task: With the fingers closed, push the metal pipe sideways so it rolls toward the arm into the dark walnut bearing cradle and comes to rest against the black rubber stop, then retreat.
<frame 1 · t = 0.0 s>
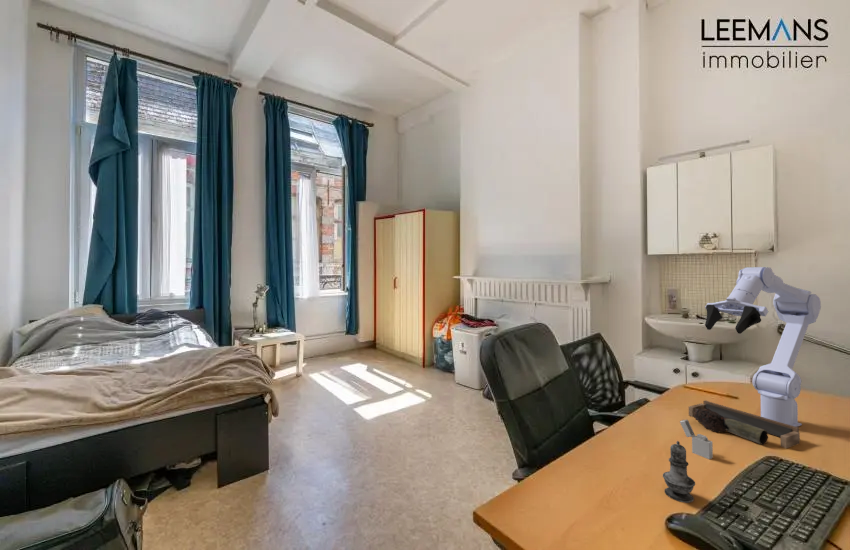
hand: (722, 329, 103), 32 cm above the table, tool tilted 50°, fingers open, 7 cm apart
bearing cradle: (746, 425, 113), on the table
lighter: (696, 453, 97), on the table
salt shaker: (678, 495, 79), on the table
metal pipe: (725, 433, 108), on the table
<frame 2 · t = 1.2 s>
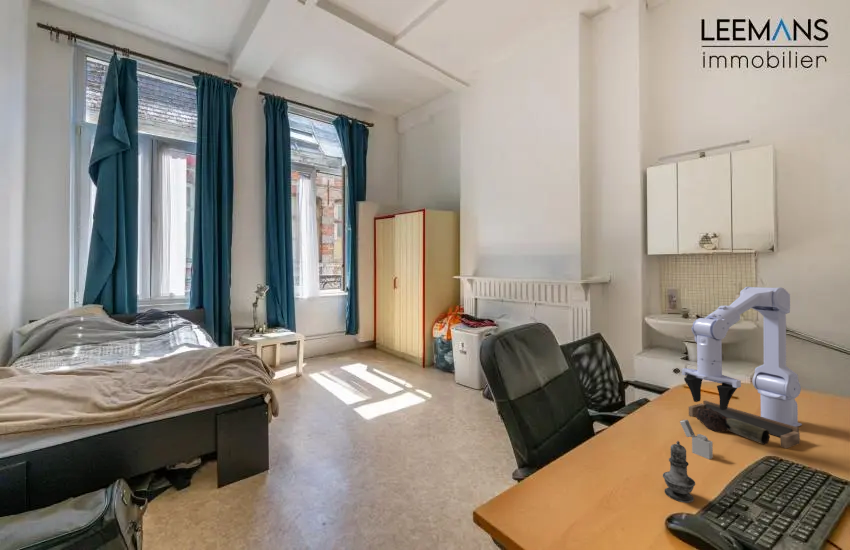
hand: (709, 405, 106), 9 cm above the table, tool pointing down, fingers open, 6 cm apart
nothing on the table moved.
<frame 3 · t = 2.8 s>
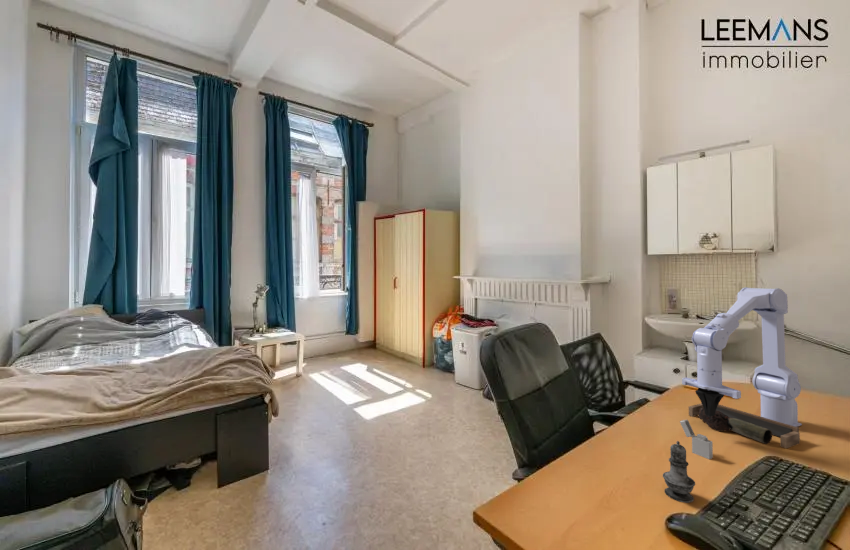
hand: (710, 415, 106), 6 cm above the table, tool pointing down, fingers closed
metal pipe: (729, 432, 109), on the table
everything else where it was.
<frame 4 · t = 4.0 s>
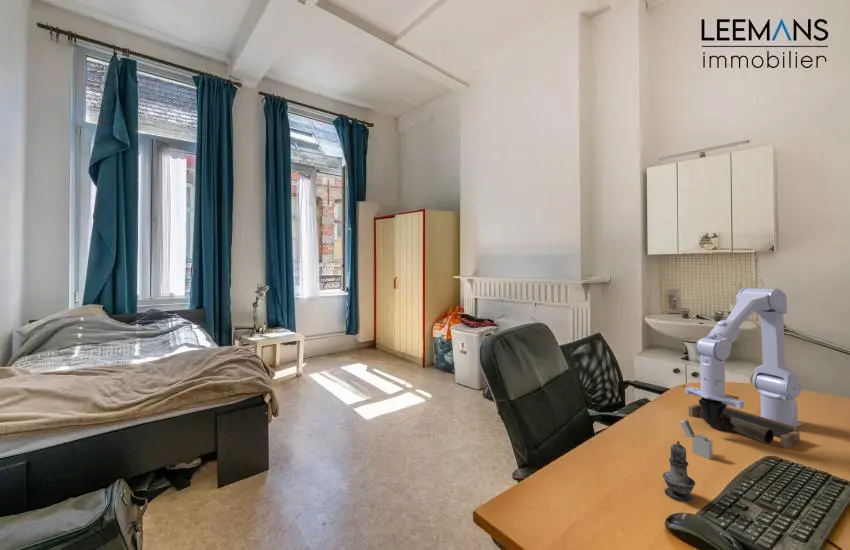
hand: (713, 424, 106), 3 cm above the table, tool pointing down, fingers closed
nothing on the table moved.
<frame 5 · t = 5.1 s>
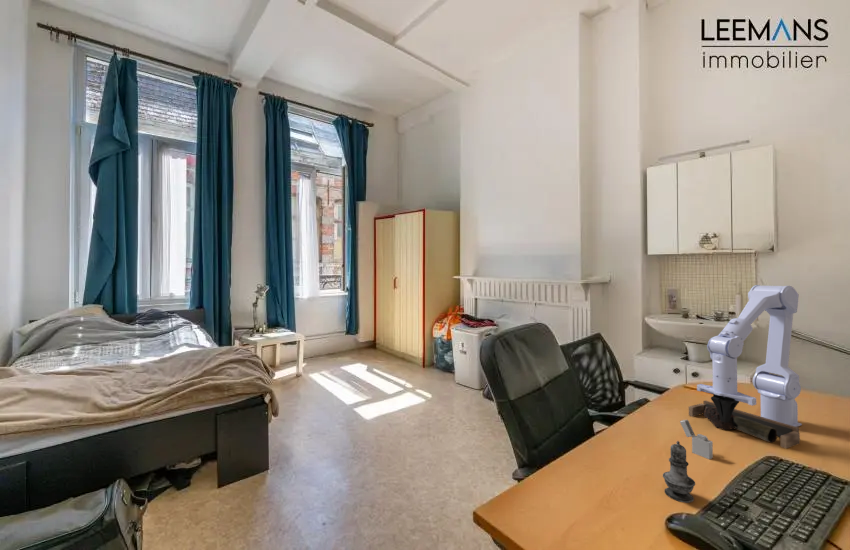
hand: (725, 421, 108), 3 cm above the table, tool pointing down, fingers closed
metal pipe: (734, 431, 110), on the table
everything else where it was.
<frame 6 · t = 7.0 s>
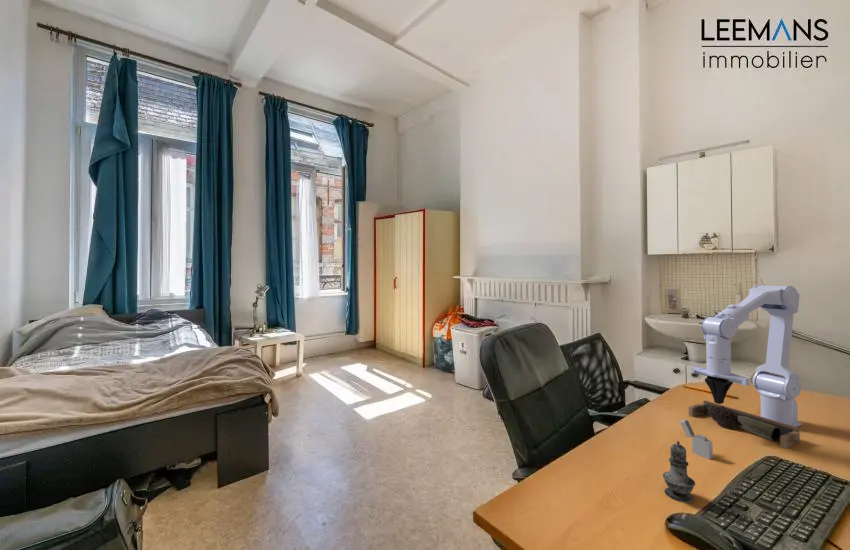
hand: (719, 402, 107), 9 cm above the table, tool pointing down, fingers closed
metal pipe: (739, 430, 110), on the table
everything else where it was.
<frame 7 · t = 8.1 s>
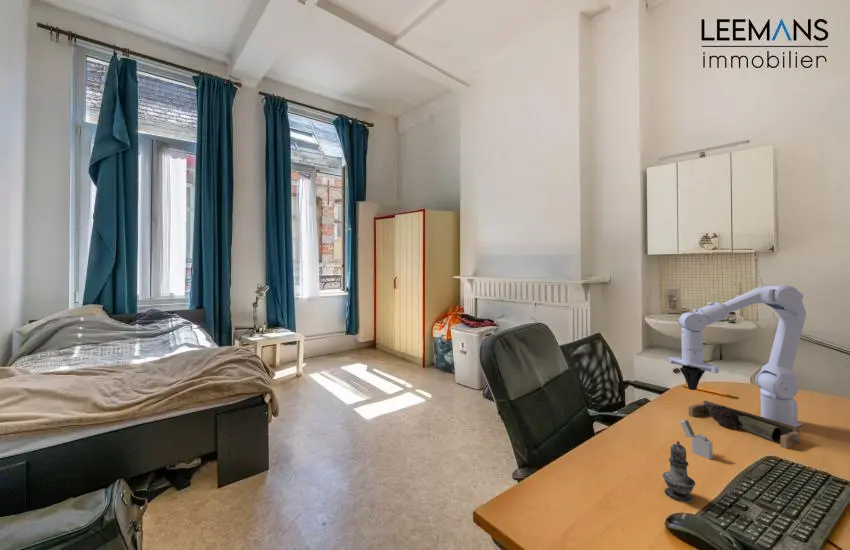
hand: (692, 389, 120), 9 cm above the table, tool pointing down, fingers closed
nothing on the table moved.
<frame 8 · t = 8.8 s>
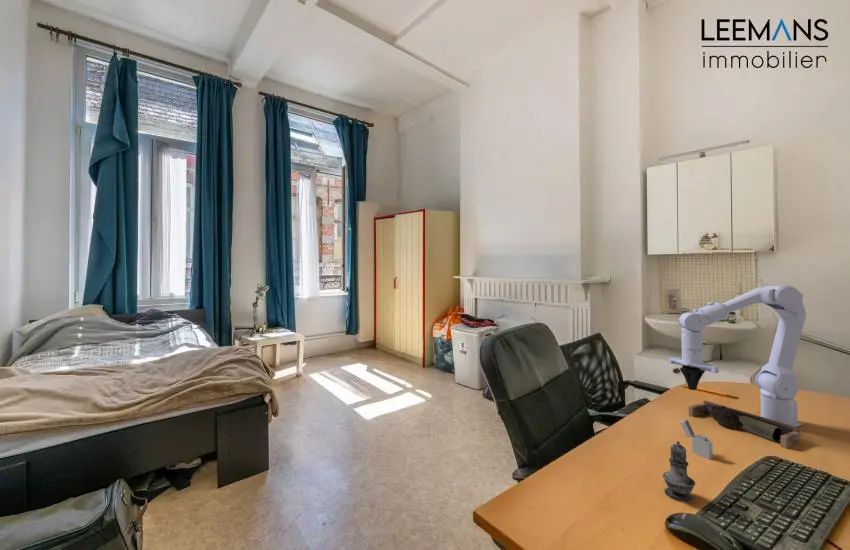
hand: (692, 389, 120), 9 cm above the table, tool pointing down, fingers closed
nothing on the table moved.
at the end: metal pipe inside the target area (0.9 cm from its centre), on the table; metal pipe moved 6.3 cm from its start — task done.
